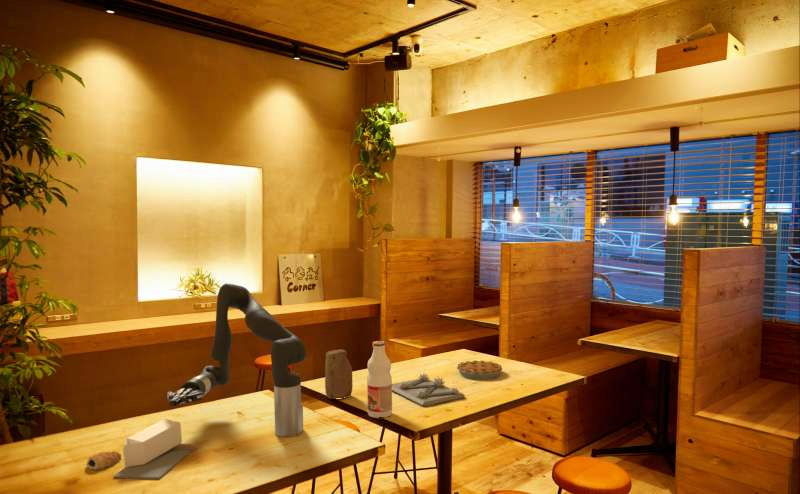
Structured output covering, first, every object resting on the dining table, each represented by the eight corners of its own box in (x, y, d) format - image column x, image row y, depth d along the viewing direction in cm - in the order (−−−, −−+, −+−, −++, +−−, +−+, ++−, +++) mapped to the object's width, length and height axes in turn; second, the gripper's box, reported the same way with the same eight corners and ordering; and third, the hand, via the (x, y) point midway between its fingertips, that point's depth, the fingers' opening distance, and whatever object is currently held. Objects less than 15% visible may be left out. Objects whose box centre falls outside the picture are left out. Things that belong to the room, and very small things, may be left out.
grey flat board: (196, 449, 180) (196, 444, 180) (162, 479, 159) (162, 473, 159) (149, 448, 181) (149, 443, 181) (110, 477, 160) (110, 471, 160)
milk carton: (180, 421, 180) (131, 448, 163) (182, 442, 181) (133, 470, 164) (164, 418, 183) (114, 443, 166) (166, 438, 184) (116, 466, 166)
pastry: (113, 456, 176) (112, 444, 176) (126, 460, 173) (126, 448, 172) (84, 468, 168) (83, 455, 167) (97, 472, 164) (97, 460, 164)
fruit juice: (391, 418, 206) (390, 344, 205) (366, 418, 206) (365, 344, 205) (392, 410, 215) (391, 339, 214) (368, 410, 215) (367, 339, 214)
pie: (506, 380, 255) (506, 369, 254) (459, 381, 255) (458, 370, 255) (498, 368, 276) (498, 358, 276) (455, 368, 277) (454, 358, 277)
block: (330, 401, 227) (329, 353, 226) (324, 396, 233) (323, 350, 233) (354, 397, 232) (353, 350, 231) (348, 393, 238) (347, 347, 237)
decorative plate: (385, 390, 243) (385, 374, 243) (426, 382, 255) (425, 367, 254) (423, 409, 218) (423, 391, 217) (466, 399, 229) (466, 382, 229)
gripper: (178, 377, 198) (152, 392, 180) (213, 378, 197) (191, 392, 179) (178, 398, 198) (153, 414, 181) (214, 398, 197) (191, 415, 180)
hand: (172, 403), depth 180 cm, fingers closed
